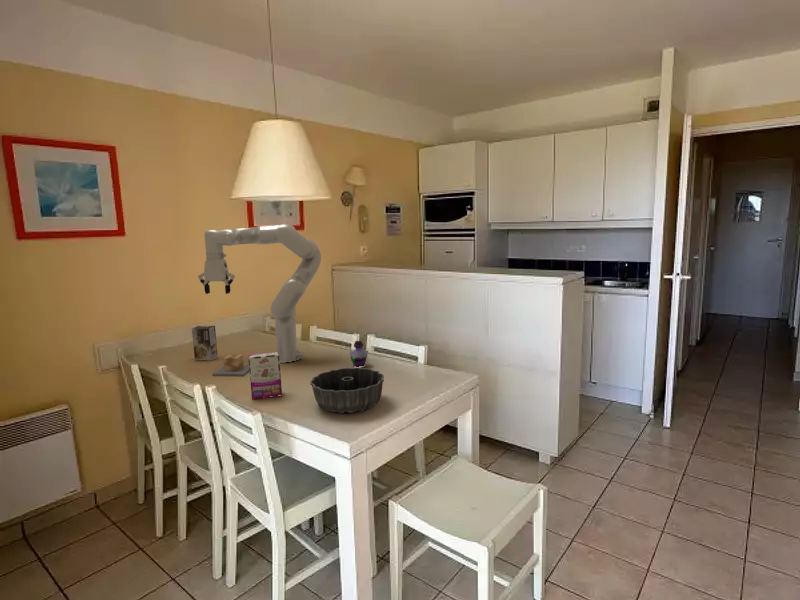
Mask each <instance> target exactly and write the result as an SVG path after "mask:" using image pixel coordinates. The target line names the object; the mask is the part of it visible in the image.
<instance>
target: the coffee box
mask: <svg viewBox="0 0 800 600" xmlns="http://www.w3.org/2000/svg"><path fill="white" fill-rule="evenodd" d="M216 334H217V333H216V325H197V326H194V327H192V328H191V335H192V343H193V344H192V345H193V354H194V361H195V360H207V361H211V362H212V361H214V360H216V359H218V358H217V357H218V344H217V335H216Z"/></svg>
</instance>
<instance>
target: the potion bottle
mask: <svg viewBox="0 0 800 600" xmlns="http://www.w3.org/2000/svg"><path fill="white" fill-rule="evenodd" d="M353 347H354V348H355V349H354V350H350V351H349V355H350V360H351V362H352V365H353V367H354V366H356V367H359V366H364V365H365V366H366V361H367V359H368V353H369V351H368V350H367V349H363V347H364V343H363V340H355V341H354V344H353Z"/></svg>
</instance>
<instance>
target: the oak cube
mask: <svg viewBox="0 0 800 600" xmlns="http://www.w3.org/2000/svg"><path fill="white" fill-rule="evenodd" d="M243 355H244V354H242V353H241V354H239V353H237V354H233V353H231V354H228V355H227V356H225V357H223V364H224V366H225V371H239V370H241V369H242V368H243V367H244V365H245V364H244V356H243Z"/></svg>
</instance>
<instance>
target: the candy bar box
mask: <svg viewBox="0 0 800 600" xmlns="http://www.w3.org/2000/svg"><path fill="white" fill-rule="evenodd" d="M248 365H249V370H250V372H249V378H250V379H249V380H250V390H251V391H250V392H251V400H256V399H255V398H261V399H264V398H263V397H269V398H271V397H270V396H278V395H282V396H283V390H282V389H283V388H282V376H281V374H282V373H281V363H280V360H279V352H277V351H273V352H263V353H252V354H249V355H248ZM278 397H279V396H278Z"/></svg>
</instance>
